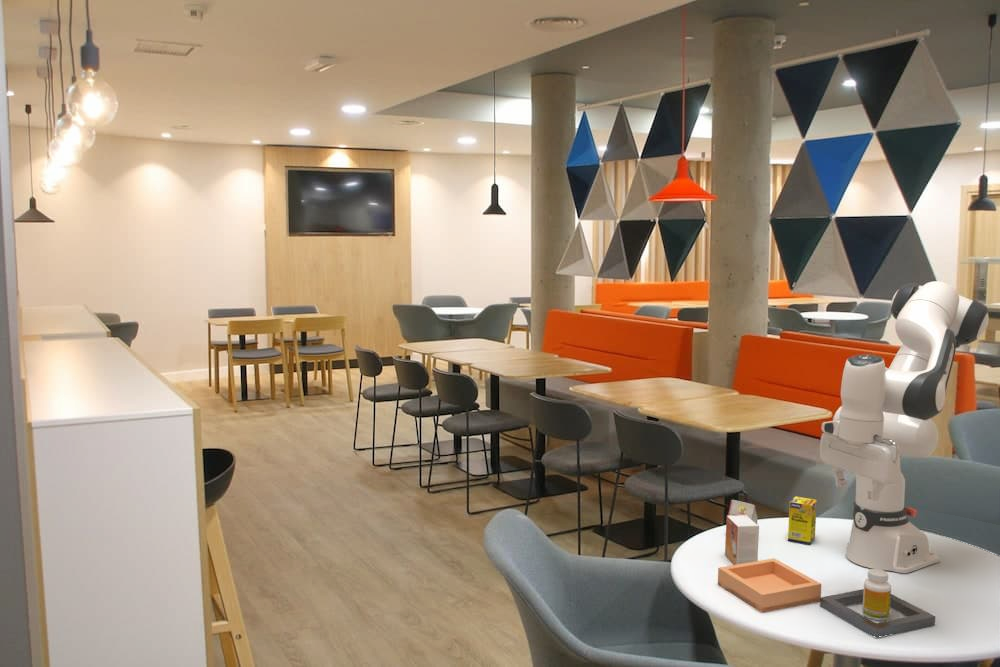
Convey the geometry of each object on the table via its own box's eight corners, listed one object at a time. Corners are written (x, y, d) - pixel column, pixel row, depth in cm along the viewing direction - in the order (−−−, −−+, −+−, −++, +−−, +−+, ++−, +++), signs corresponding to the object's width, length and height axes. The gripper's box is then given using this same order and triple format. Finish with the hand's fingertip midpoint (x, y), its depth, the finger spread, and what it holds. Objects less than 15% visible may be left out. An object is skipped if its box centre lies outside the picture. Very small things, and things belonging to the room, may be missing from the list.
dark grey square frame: (876, 595, 192) (876, 586, 191) (934, 625, 177) (935, 616, 177) (819, 606, 186) (820, 597, 186) (875, 638, 171) (876, 629, 171)
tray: (773, 574, 203) (774, 558, 203) (820, 601, 189) (821, 583, 188) (717, 584, 198) (718, 567, 197) (761, 612, 183) (762, 594, 182)
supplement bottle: (892, 622, 178) (894, 578, 177) (865, 620, 179) (867, 576, 178) (886, 611, 183) (888, 568, 182) (859, 609, 185) (862, 566, 183)
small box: (724, 555, 216) (725, 515, 214) (745, 554, 216) (747, 514, 215) (735, 567, 208) (737, 526, 206) (757, 566, 208) (759, 525, 207)
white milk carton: (734, 533, 231) (735, 498, 230) (756, 539, 226) (758, 503, 225) (727, 536, 229) (728, 501, 227) (749, 543, 224) (751, 506, 223)
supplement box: (810, 545, 222) (812, 505, 221) (787, 541, 225) (789, 501, 224) (815, 538, 227) (817, 499, 226) (792, 534, 230) (794, 495, 229)
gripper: (910, 440, 172) (905, 506, 174) (838, 420, 192) (835, 479, 193) (886, 442, 170) (881, 509, 172) (816, 422, 189) (812, 482, 191)
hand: (856, 493), depth 182 cm, fingers open, 8 cm apart
